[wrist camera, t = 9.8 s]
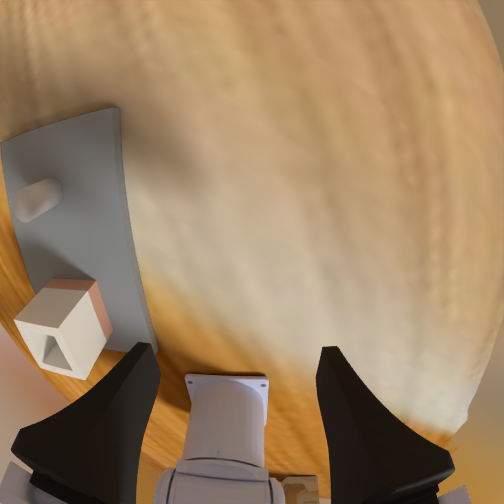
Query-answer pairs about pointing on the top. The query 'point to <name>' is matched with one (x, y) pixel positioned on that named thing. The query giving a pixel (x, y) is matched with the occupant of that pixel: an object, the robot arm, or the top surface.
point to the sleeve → (66, 326)
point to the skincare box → (301, 490)
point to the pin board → (78, 216)
